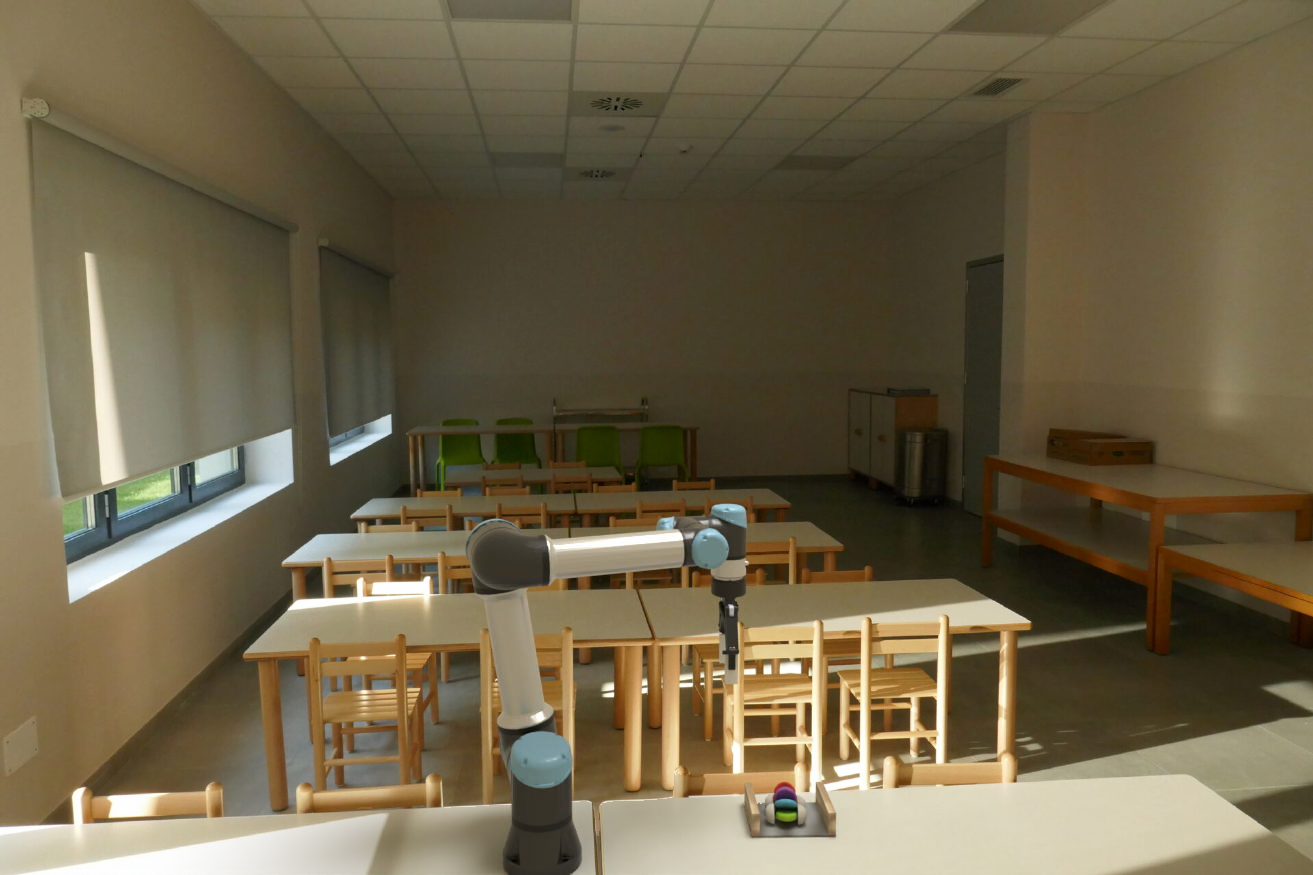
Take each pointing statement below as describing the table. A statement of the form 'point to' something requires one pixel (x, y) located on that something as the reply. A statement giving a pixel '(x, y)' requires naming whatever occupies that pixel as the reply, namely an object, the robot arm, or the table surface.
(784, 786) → the rainbow petal toy
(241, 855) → the table surface
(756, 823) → the bay
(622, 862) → the table surface
